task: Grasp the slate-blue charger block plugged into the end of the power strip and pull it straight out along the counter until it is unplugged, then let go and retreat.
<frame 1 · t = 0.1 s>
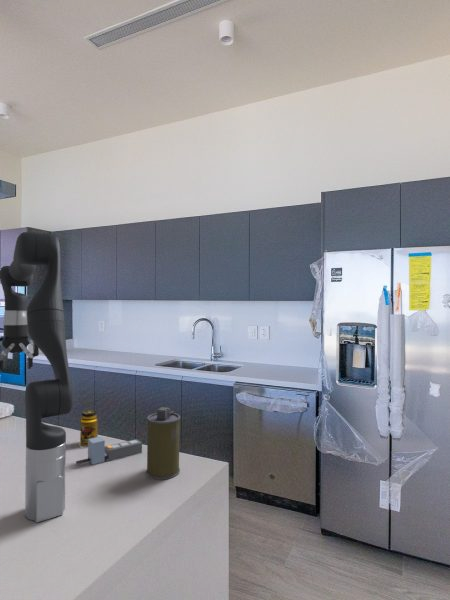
hand: (15, 369, 133), 29 cm above the counter, fingers open, 8 cm apart
condiment: (88, 443, 144), on the counter
canister: (163, 472, 120), on the counter
strip: (123, 454, 133), on the counter
charger: (94, 450, 127), point 4 cm above the counter, slide at 0.0 cm
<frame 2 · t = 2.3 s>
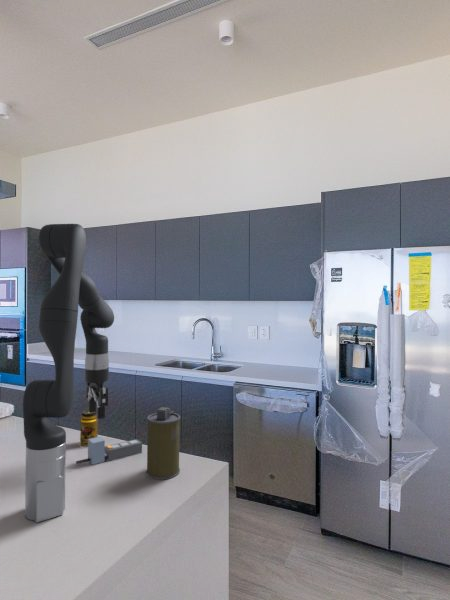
hand: (96, 415, 127), 15 cm above the counter, fingers open, 8 cm apart
nothing on the counter moved.
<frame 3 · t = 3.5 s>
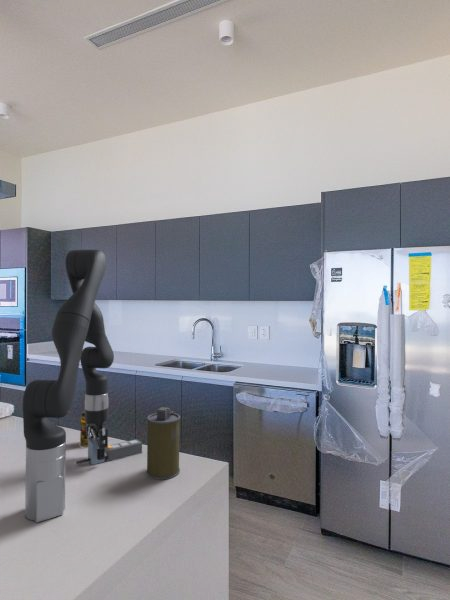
hand: (96, 455, 127), 2 cm above the counter, fingers open, 8 cm apart
nothing on the counter moved.
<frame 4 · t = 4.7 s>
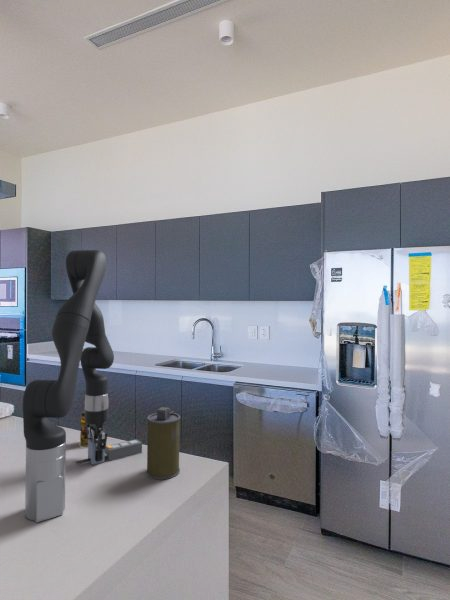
hand: (96, 458, 127), 1 cm above the counter, fingers closed on charger, 4 cm apart
charger: (94, 450, 127), point 4 cm above the counter, slide at 0.0 cm, touching gripper
everything else where it was.
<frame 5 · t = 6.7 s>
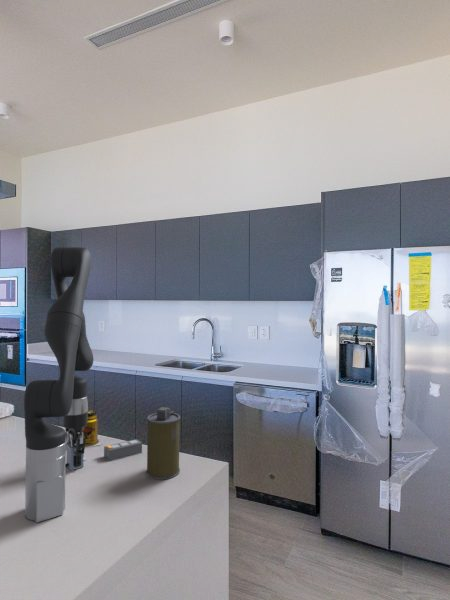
hand: (74, 463, 123), 1 cm above the counter, fingers closed on charger, 4 cm apart
charger: (72, 455, 123), point 4 cm above the counter, slide at 6.8 cm, touching gripper
everything else where it was.
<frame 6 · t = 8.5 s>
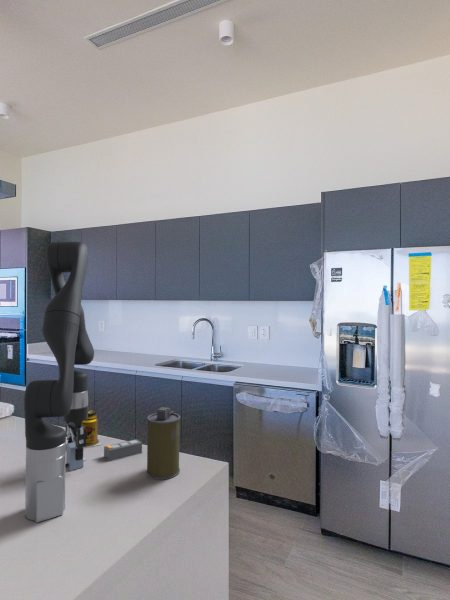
hand: (74, 455, 122), 4 cm above the counter, fingers open, 8 cm apart
charger: (72, 455, 123), point 4 cm above the counter, slide at 6.9 cm
everything else where it was.
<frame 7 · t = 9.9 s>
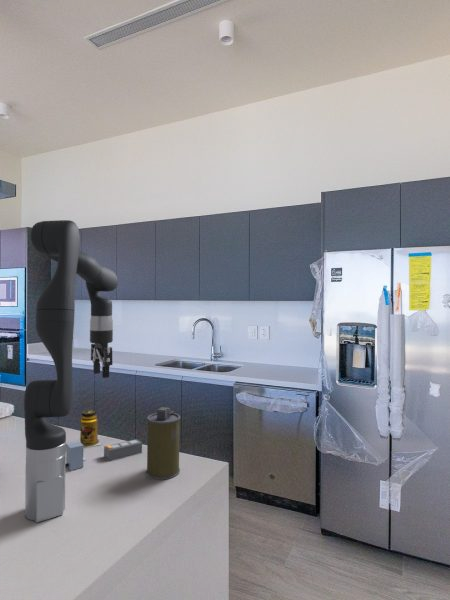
hand: (101, 375, 132), 28 cm above the counter, fingers open, 8 cm apart
nothing on the counter moved.
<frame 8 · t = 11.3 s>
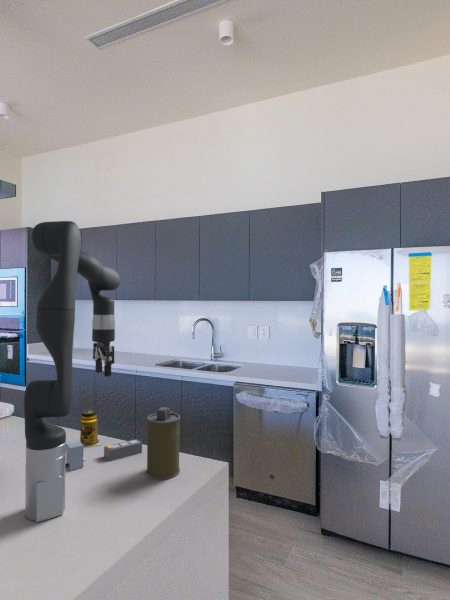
hand: (103, 374, 133), 28 cm above the counter, fingers open, 8 cm apart
nothing on the counter moved.
at the end: charger slide at 6.9 cm; the gripper is holding nothing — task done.
